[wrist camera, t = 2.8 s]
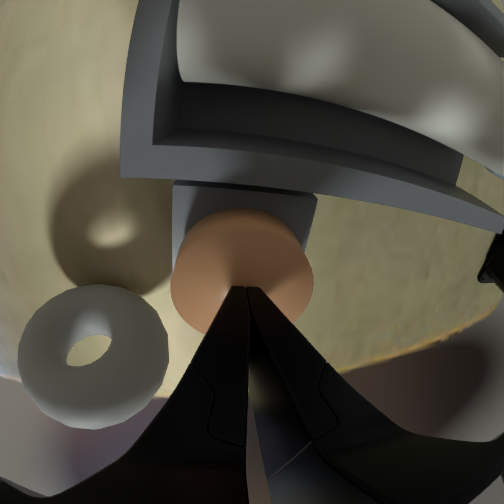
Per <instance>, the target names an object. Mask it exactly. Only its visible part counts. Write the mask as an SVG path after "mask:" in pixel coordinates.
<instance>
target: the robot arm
mask: <svg viewBox="0 0 504 504" xmlns="http://www.w3.org/2000/svg"><path fill="white" fill-rule="evenodd" d="M478 281H479V282H480V283H495V284H496V285H497V286H498V287H499V288H500V290H501V291H502V292H503V293H504V229H503V231H502V234H498V236H497V239H496V241H495V243H494V246H493V248H492V250H491V252H490V254H489V256H488V259H487V261H486V263H485V265H484V267H483V269H482V271H481V273H480V275H479V277H478ZM248 388H249V393H250V399H251V404H252V410H253V414H254V420H255V426H256V430H257V436H258V441H259V446H260V451H261V456H262V461H263V466H264V471H265V476H266V480H267V485H268V490H269V495H270V499H271V504H504V432H502V433H501V434H499V435H498V436H497V437H495V438H494V439H493V440H491V441H489V442H469V441H459V440H451V439H444V438H437V437H431V436H426V435H420V434H415V433H412V432H410V431H407V430H405V429H403V428H401V427H400V426H398V425H397V424H396V423H394V422H393V421H391V420H390V419H389V418H388V417H387V416H386V415H384V414H383V413H382V412H381V411H379V410H378V409H377V408H376V407H375V406H373V405H372V404H371V403H370V402H369V401H367V400H366V399H365V398H364V397H363V396H362V395H360V394H359V393H358V392H357V391H356V390H355V389H354V388H353V387H351V386H350V385H349V384H348V383H347V382H346V381H345V380H344V379H343V378H342V377H341V376H340V375H339V374H338V373H337V372H336V370H335V369H334V368H333V367H332V366H331V365H330V364H329V363H328V362H327V363H326V360H325V359H324V358H323V357H322V355H321V354H320V353H319V352H318V351H317V350H316V349H315V348H314V347H313V346H312V345H311V343H310V342H309V341H308V340H307V339H306V338H305V337H304V336H303V335H302V334H301V332H300V331H299V330H298V329H297V328H296V327H295V326H294V325H293V324H292V323H291V321H290V320H289V319H288V318H287V317H286V316H285V315H284V314H283V313H282V311H281V310H280V309H279V308H278V307H277V306H276V305H275V304H274V302H273V301H272V300H271V299H270V298H269V297H268V296H267V295H266V294H265V292H264V291H263V290H262V289H261V288H260V287H254V286H247V287H246V288H245V287H244V286H234V285H233V286H231V287H230V289H229V291H228V293H227V295H226V297H225V299H224V300H223V302H222V304H221V306H220V308H219V310H218V312H217V313H216V315H215V317H214V319H213V321H212V323H211V325H210V327H209V328H208V330H207V332H206V334H205V336H204V338H203V340H202V342H201V343H200V345H199V347H198V349H197V351H196V353H195V355H194V357H193V359H192V360H191V363H190V364H189V366H188V368H187V369H186V371H185V373H184V375H183V377H182V378H181V380H180V382H179V383H178V385H177V387H176V389H175V390H174V392H173V393H172V394H171V396H170V397H169V399H168V400H167V402H166V403H165V404H164V406H163V407H162V408H161V410H160V411H159V412H158V414H157V415H156V416H155V418H154V419H153V420H152V421H151V423H150V424H149V425H148V427H147V428H146V429H145V431H144V432H143V433H142V435H141V436H140V437H139V438H138V440H137V441H136V442H135V443H134V444H133V445H132V447H131V448H130V449H129V450H128V451H127V452H126V453H125V454H124V455H123V456H121V457H120V458H119V459H118V460H116V461H115V462H113V463H112V464H110V465H108V466H107V467H105V468H103V469H102V470H100V471H99V472H97V473H95V474H93V475H92V476H90V477H88V478H87V479H85V480H83V481H81V482H80V483H78V484H76V485H74V486H72V487H71V488H69V489H67V490H65V491H63V492H61V493H59V494H56V495H53V496H50V497H47V496H45V495H42V494H39V493H36V492H34V491H32V490H29V489H27V488H25V487H22V486H20V485H18V484H16V483H14V482H12V481H9V480H7V479H5V478H3V477H0V504H249V498H248V489H247V479H246V449H245V448H246V436H247V409H248Z"/></svg>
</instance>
